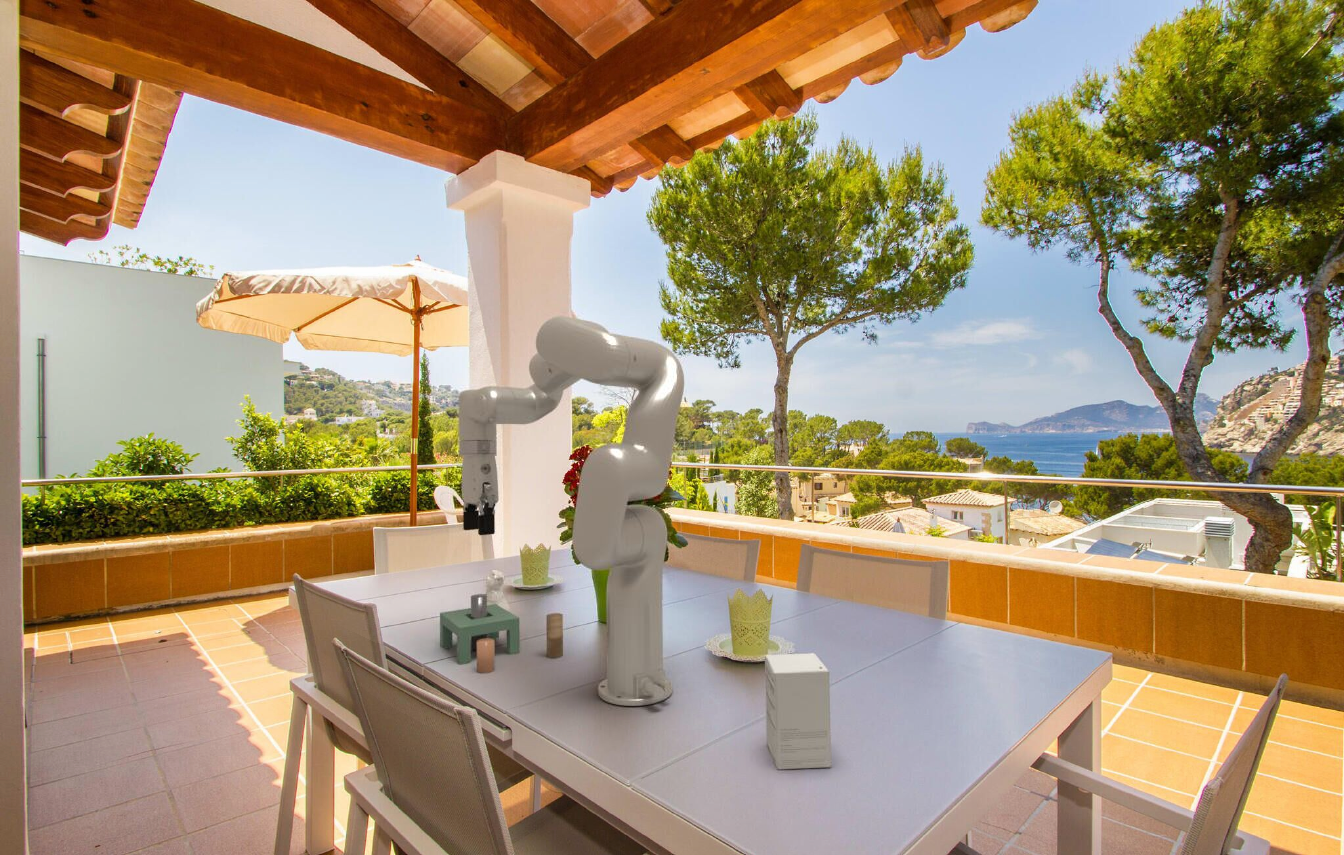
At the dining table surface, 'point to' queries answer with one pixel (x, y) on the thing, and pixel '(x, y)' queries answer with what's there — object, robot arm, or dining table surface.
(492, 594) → the white creature statuette
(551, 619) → the medium pin
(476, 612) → the long pin
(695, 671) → the dining table surface
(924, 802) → the dining table surface
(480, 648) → the short pin
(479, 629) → the hole bridge
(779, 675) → the supplement box
